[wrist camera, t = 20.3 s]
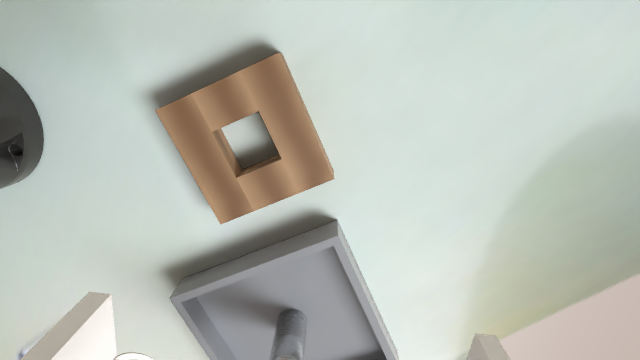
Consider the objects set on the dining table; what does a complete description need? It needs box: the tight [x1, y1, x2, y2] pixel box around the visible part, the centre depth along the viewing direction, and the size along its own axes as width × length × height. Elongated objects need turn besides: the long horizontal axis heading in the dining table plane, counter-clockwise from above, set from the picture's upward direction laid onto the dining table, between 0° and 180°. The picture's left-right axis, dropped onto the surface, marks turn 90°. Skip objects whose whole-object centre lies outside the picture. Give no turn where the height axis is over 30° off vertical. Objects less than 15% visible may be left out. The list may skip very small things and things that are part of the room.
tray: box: [170, 220, 399, 360], centre depth 46 cm, size 22×22×4 cm
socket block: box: [155, 53, 334, 224], centre depth 38 cm, size 14×14×3 cm
